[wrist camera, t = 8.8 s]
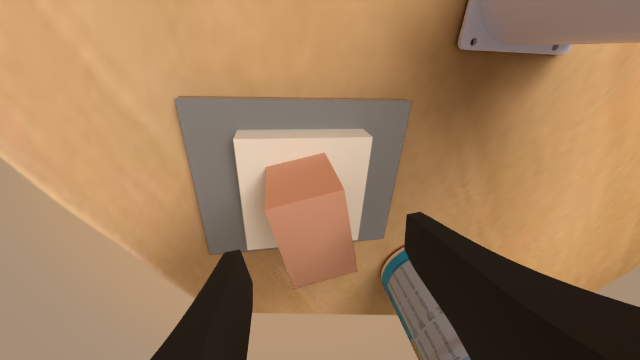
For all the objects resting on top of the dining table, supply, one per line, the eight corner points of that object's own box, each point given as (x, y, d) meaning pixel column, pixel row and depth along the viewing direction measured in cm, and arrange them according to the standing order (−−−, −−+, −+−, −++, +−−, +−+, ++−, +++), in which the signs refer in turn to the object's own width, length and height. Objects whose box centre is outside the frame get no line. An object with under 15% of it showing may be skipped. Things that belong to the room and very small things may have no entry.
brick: (324, 152, 16) (344, 189, 12) (337, 221, 19) (357, 271, 15) (266, 166, 16) (264, 210, 12) (288, 234, 19) (293, 288, 15)
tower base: (405, 99, 19) (427, 107, 16) (379, 232, 25) (392, 253, 22) (179, 96, 16) (161, 105, 13) (212, 246, 22) (204, 273, 19)
